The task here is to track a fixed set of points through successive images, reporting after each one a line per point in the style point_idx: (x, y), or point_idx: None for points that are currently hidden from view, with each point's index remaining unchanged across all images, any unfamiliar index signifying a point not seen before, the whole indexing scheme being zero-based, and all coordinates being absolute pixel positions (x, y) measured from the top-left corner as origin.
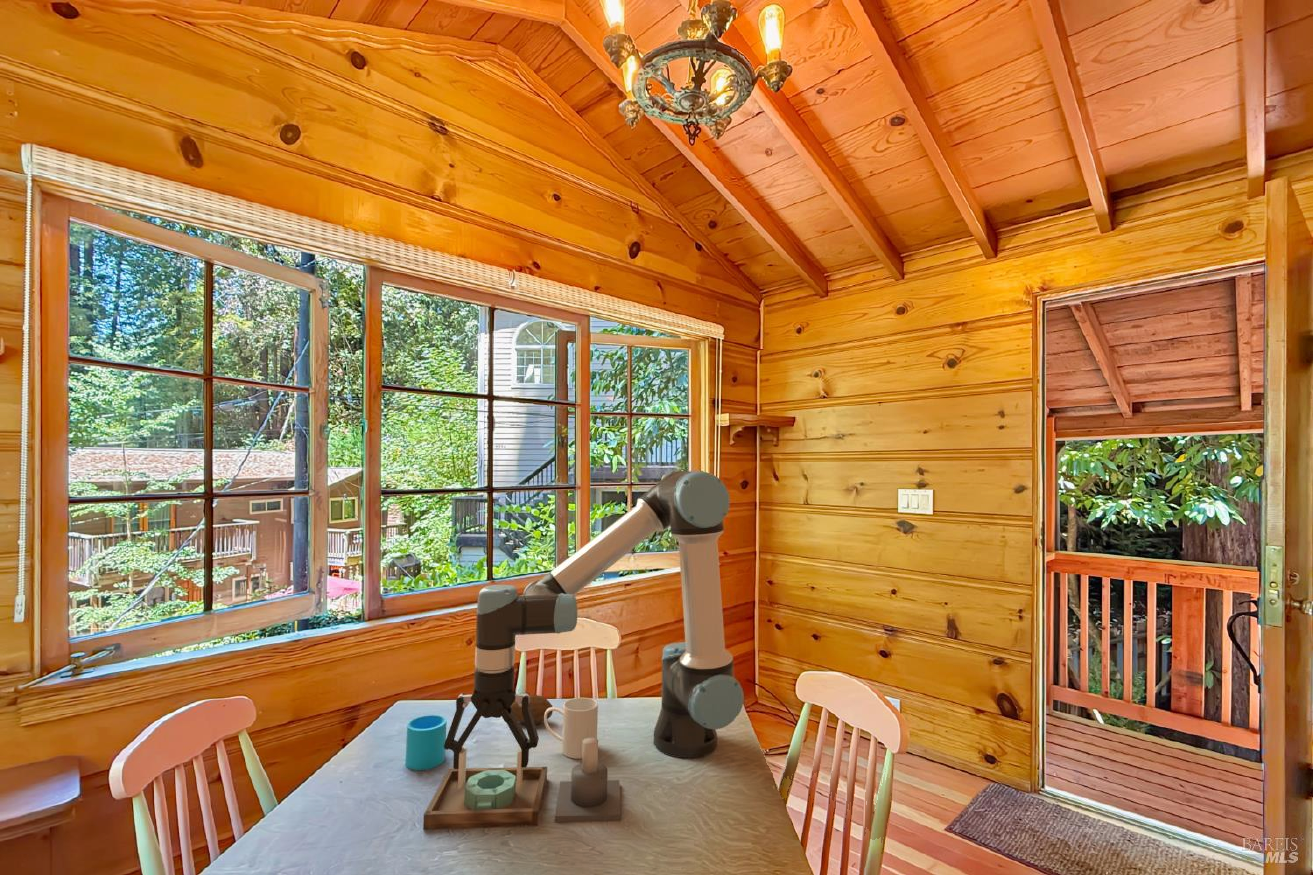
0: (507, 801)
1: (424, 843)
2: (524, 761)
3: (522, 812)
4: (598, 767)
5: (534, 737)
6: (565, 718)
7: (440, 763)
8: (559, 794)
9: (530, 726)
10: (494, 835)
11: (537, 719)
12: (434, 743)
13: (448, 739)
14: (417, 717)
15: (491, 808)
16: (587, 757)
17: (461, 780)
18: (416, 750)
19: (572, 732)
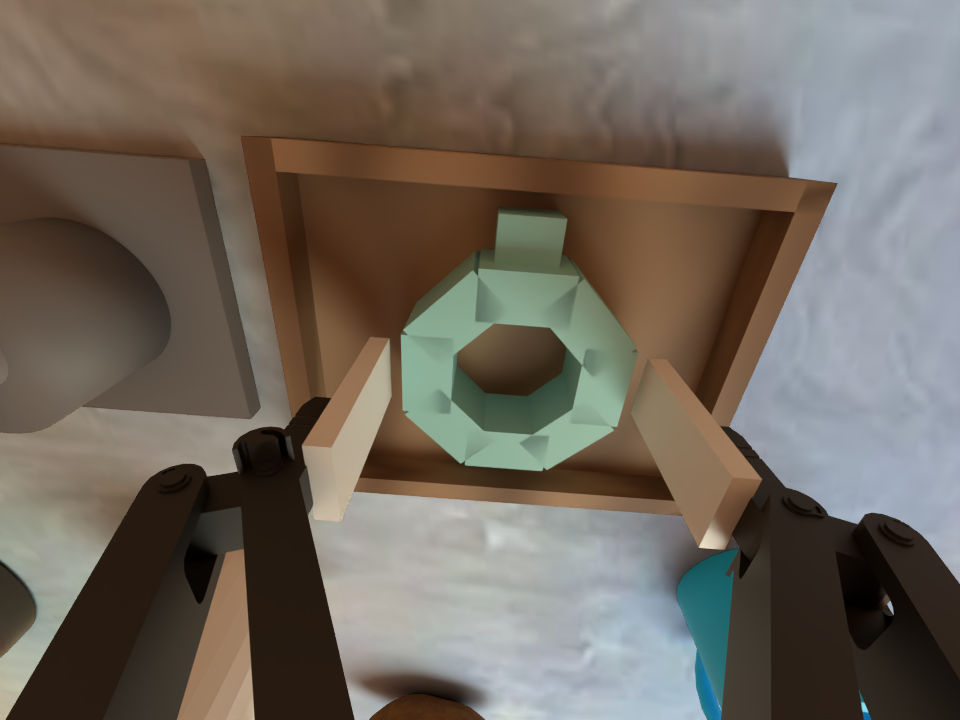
0: (430, 293)
1: (796, 46)
2: (315, 418)
3: (324, 143)
4: None
5: (126, 531)
6: (228, 708)
7: (693, 568)
8: (225, 333)
9: (74, 651)
10: (462, 76)
11: (408, 708)
12: None
13: (941, 585)
14: None
15: (495, 241)
16: None
17: (665, 377)
18: None
19: (217, 638)
